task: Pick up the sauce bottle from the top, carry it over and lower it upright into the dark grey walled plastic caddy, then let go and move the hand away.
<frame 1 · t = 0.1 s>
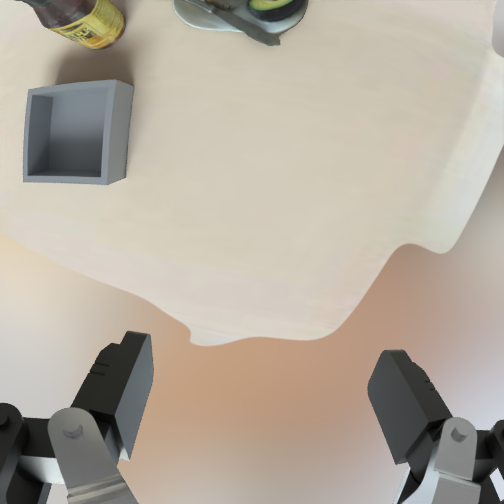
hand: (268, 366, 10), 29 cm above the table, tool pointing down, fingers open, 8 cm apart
bottle caddy: (85, 132, 33), on the table
sauce bottle: (107, 31, 29), on the table
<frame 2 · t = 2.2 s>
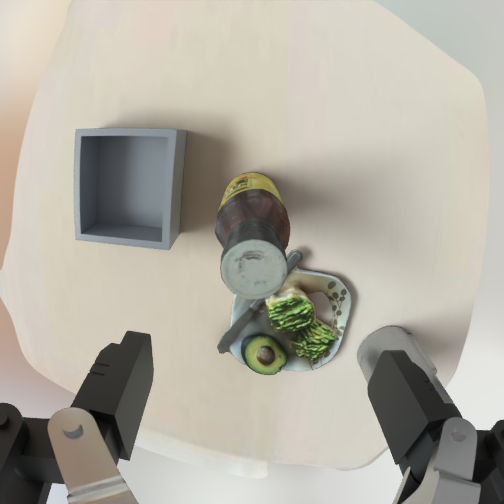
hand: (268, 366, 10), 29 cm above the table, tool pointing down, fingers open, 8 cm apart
bottle caddy: (136, 180, 35), on the table
sauce bottle: (250, 197, 37), on the table
salad plate: (285, 322, 43), on the table
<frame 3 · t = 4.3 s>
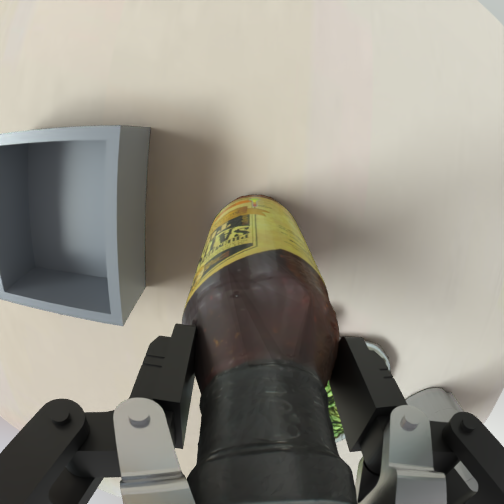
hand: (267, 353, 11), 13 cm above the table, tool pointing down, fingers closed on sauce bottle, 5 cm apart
bottle caddy: (79, 207, 22), on the table
sauce bottle: (252, 234, 23), on the table, touching gripper
salad plate: (299, 395, 30), on the table
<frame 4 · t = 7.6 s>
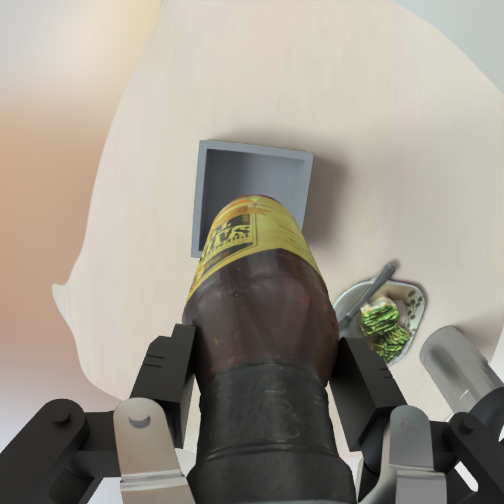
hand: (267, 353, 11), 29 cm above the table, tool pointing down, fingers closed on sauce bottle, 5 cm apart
bottle caddy: (249, 195, 37), on the table
sauce bottle: (252, 233, 23), point 15 cm above the table, touching gripper
salad plate: (368, 326, 46), on the table
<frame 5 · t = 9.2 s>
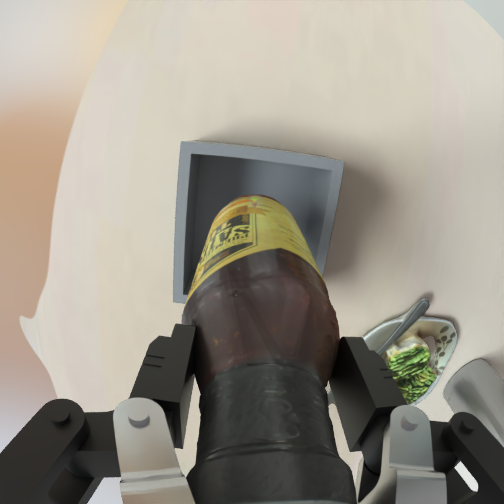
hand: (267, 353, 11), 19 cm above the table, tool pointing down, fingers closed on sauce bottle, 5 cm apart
bottle caddy: (251, 216, 28), on the table
sauce bottle: (252, 233, 23), point 5 cm above the table, touching gripper
salad plate: (391, 367, 36), on the table
when the fingers open (16 cm above the table, at t = 10.8 s): sauce bottle drops 1 cm, resting on bottle caddy.
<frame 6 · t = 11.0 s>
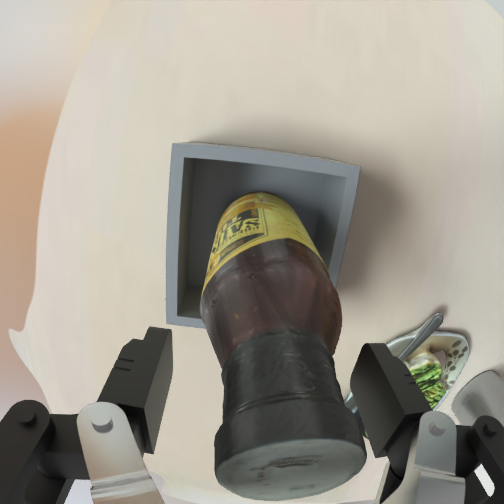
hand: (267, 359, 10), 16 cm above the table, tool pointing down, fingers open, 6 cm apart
bottle caddy: (253, 226, 25), on the table
sauce bottle: (257, 228, 25), point 1 cm above the table, touching bottle caddy
salad plate: (400, 382, 34), on the table
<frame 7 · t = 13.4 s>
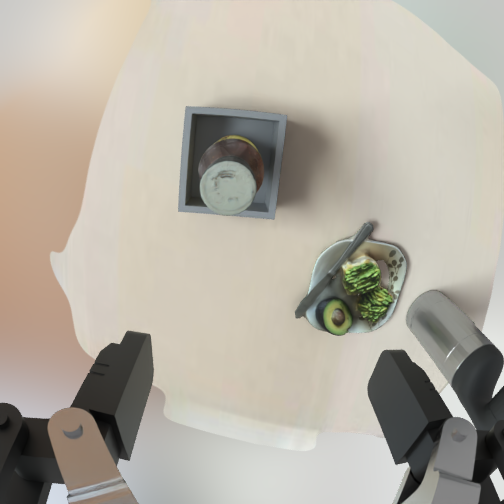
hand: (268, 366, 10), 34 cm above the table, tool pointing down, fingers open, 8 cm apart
bottle caddy: (231, 159, 40), on the table
sauce bottle: (233, 159, 40), point 1 cm above the table, touching bottle caddy
salad plate: (351, 287, 49), on the table
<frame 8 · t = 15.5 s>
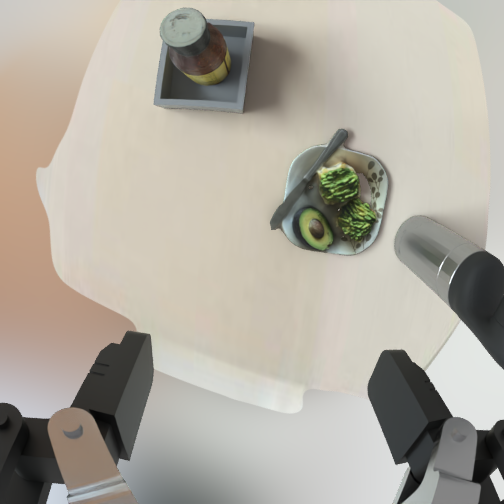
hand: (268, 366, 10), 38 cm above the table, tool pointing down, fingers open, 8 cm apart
bottle caddy: (208, 69, 39), on the table
sauce bottle: (209, 68, 38), point 1 cm above the table, touching bottle caddy
salad plate: (331, 202, 47), on the table
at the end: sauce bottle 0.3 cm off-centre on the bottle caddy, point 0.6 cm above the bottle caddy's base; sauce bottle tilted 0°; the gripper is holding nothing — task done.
